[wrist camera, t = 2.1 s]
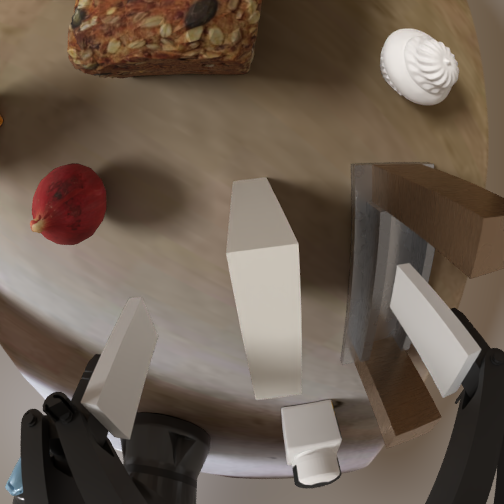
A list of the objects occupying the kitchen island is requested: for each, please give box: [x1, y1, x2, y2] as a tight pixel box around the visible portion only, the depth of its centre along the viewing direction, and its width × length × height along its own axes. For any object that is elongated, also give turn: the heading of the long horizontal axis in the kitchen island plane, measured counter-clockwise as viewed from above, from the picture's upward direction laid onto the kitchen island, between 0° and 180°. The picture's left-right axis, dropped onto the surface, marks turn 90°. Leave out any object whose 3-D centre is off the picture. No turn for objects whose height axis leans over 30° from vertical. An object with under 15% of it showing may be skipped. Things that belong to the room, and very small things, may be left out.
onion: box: [30, 164, 106, 245], centre depth 16 cm, size 6×6×8 cm
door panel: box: [226, 177, 302, 400], centre depth 17 cm, size 9×2×12 cm, turn 7°
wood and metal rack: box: [341, 162, 504, 448], centre depth 19 cm, size 22×8×13 cm, turn 7°
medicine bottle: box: [281, 399, 342, 488], centre depth 30 cm, size 7×7×12 cm
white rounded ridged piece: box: [380, 29, 459, 105], centre depth 13 cm, size 6×6×7 cm
